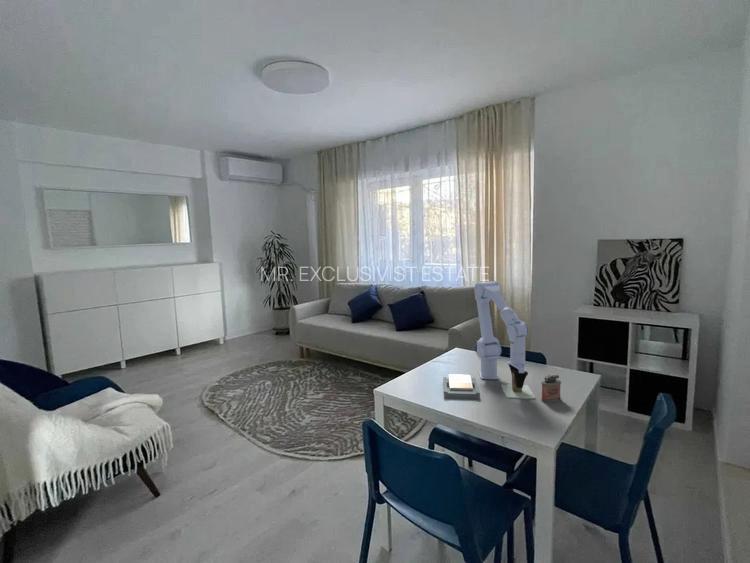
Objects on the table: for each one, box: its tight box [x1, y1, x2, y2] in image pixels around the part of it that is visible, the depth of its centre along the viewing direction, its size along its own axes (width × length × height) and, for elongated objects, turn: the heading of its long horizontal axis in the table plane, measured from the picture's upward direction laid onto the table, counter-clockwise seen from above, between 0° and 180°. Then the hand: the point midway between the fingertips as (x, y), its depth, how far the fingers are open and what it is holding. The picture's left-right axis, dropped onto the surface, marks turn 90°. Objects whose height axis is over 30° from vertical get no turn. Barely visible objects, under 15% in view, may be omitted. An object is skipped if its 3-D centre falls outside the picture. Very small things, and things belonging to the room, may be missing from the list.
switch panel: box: [442, 376, 481, 400], centre depth 155 cm, size 16×14×4 cm
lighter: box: [541, 373, 562, 404], centre depth 143 cm, size 8×3×10 cm, turn 105°
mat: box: [500, 384, 537, 400], centre depth 152 cm, size 13×11×1 cm
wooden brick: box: [511, 373, 522, 392], centre depth 151 cm, size 3×3×7 cm
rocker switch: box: [448, 373, 473, 390], centre depth 155 cm, size 10×9×1 cm
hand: (517, 384), depth 151 cm, fingers open, 7 cm apart
